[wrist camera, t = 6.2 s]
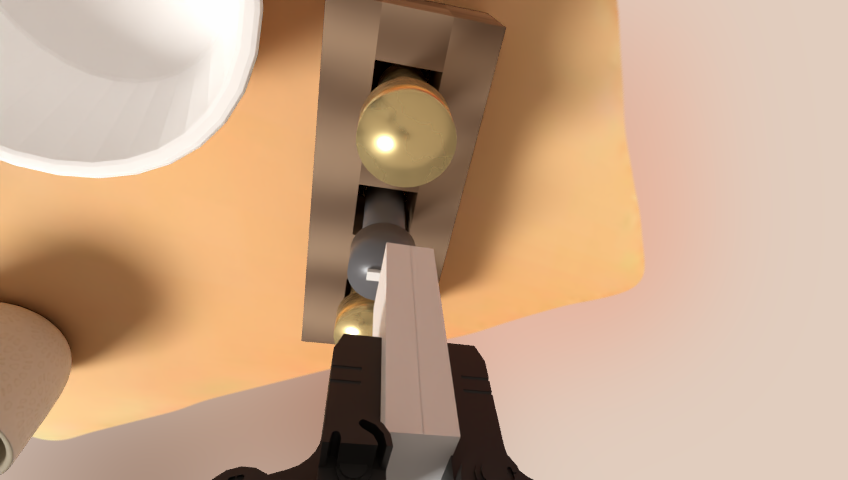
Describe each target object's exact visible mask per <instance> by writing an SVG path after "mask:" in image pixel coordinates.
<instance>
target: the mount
mask: <svg viewBox="0 0 848 480" xmlns="http://www.w3.org/2000/svg"><path fill="white" fill-rule="evenodd" d="M505 30H506V27H505V26H503V25H502V24H501V23H499V22H498V21H497V20H495V19H494V18H493V17H492V16H490V15H489V14H488V13H483V12H478V11H474V10H469V9H464V8H459V7H455V6H450V5H445V4H440V3H436V2H431V1H426V0H325V11H324V25H323V40H322V54H321V69H320V83H319V97H318V112H317V126H316V141H315V155H314V170H313V184H312V198H311V213H310V227H309V242H308V256H307V270H306V285H305V299H304V314H303V328H302V341H306V342H317V343H328V344H335V342H334V328H335V322H336V315H337V309H338V306H339V304H340V302H341V301H342V300H343V299H344V298H345V297H346V296H348V295H350V289H351V285H350V283H349V280H348V275H347V270H348V263H349V255H350V248H351V243H352V240H353V238H354V237H355V235H356V234H357V233H358V232H359V231H360V230H361V229H363V219H364V209H365V199H366V196H359V195H358V188H359V184H361V185H368V186H375V187H382V188H388V189H395V190H402V191H408V193H407V198H406V202H404V212H405V230H406V231H407V232H408V233H409V234H410V235H411V236H412V238H413V239H414V242H415V245H416V246H417V247H424V248H431V249H434V256H435V263H436V270H437V277H438V283H439V280H440V276H441V272H442V268H443V265H444V261H445V257H446V253H447V249H448V246H449V242H450V238H451V234H452V231H453V227H454V223H455V219H456V215H457V212H458V208H459V204H460V200H461V196H462V193H463V189H464V185H465V181H466V178H467V174H468V170H469V166H470V162H471V159H472V155H473V151H474V147H475V143H476V140H477V136H478V132H479V128H480V125H481V121H482V117H483V113H484V109H485V106H486V102H487V98H488V94H489V90H490V87H491V83H492V79H493V75H494V72H495V68H496V64H497V60H498V56H499V53H500V49H501V45H502V41H503V37H504V34H505ZM375 60H380V61H385V62H391V63H396V64H401V65H407V66H412V67H417V68H423V69H428V70H431V74H430V79H429V85H431V86H432V87H434V88H435V89H436V90H437V91H438V92H439V93H440V94H441V95H442V96H443V98H444V99H445V101H446V103H447V105H448V108H449V110H450V113H451V116H452V119H453V122H454V125H455V129H456V135H457V144H456V150H455V153H454V156H453V158H452V161H451V162H450V164H449V166H448V167H447V168H446V169H445V171H444V172H443V173H442V174H441V175H439V176H438V177H437V178H435V179H434V180H432V181H430V182H428V183H426V184H423V185H420V186H416V187H397V186H392V185H389V184H386V183H384V182H382V181H380V180H379V179H377V178H376V177H375V176H373V175H372V174H371V173H370V172H369V171H368V170H367V169H366V167H365V166H364V165H363V163H362V161H361V159H360V157H359V154H358V151H357V146H356V133H357V127H358V122H359V116H360V111H361V108H362V106H363V104H364V101H365V100H366V98H367V97H368V95H369V94H370V93H371V87H372V80H373V72H374V64H375Z"/></svg>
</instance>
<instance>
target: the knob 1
mask: <svg viewBox="0 0 848 480" xmlns="http://www.w3.org/2000/svg"><path fill="white" fill-rule="evenodd" d="M374 303H375V301H374V300H370V299H367V298H365V297H363V296H361V295H360V294H358V293H357V292H356V291H355V290H354V289H353V288H352V286H351V289H350V295H348V296H346V297H345V298H344V299H343V300H342V301H341V302H340V304H339V306H338V309H337V315H336V322H335V328H334V342H335V344H337V343H338V341H339V340H340V338H341V337H342V336H343V334H354V335H363V336H372V335H373V310H374Z"/></svg>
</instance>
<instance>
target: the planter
mask: <svg viewBox="0 0 848 480" xmlns="http://www.w3.org/2000/svg"><path fill="white" fill-rule="evenodd" d="M71 364H72V356H71V351H70V347H69V345H68V343H67V341H66V339H65V337H64V336H63V334H62V333H61V332H60V331H59V330H58V329H57V328H56V327H55V326H54V325H53V324H52V323H51V322H50V321H48V320H47V319H45V318H44V317H42V316H40V315H39V314H37V313H35V312H33V311H31V310H28V309H26V308H23V307H20V306H16V305H12V304H8V303H2V302H0V475H1V474H3V473H4V472H6V471H7V470H8V469H9V467H10V466H11V465H12V464H13V463H14V461H15V460H16V458H17V457H18V456H19V454H20V453H21V451H22V450H23V449H24V447H25V446H26V444H27V443H28V441H29V440H30V438H31V437H32V436H33V434H34V433H35V431H36V430H37V429H38V427H39V426H40V424H41V423H42V422H43V420H44V419H45V417H46V416H47V414H48V413H49V411H50V410H51V408H52V407H53V405H54V404H55V402H56V401H57V399H58V398H59V396H60V395H61V393H62V391H63V389H64V387H65V385H66V383H67V381H68V378H69V375H70V371H71Z"/></svg>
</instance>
